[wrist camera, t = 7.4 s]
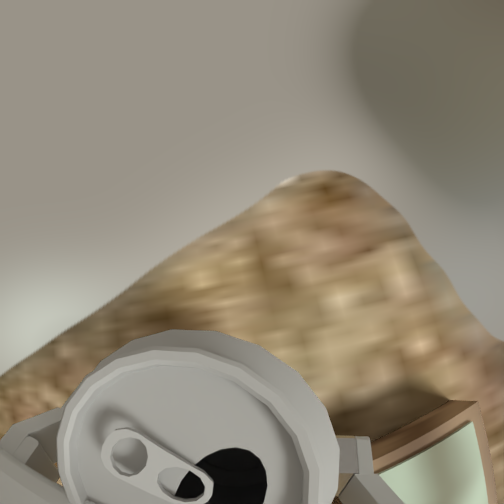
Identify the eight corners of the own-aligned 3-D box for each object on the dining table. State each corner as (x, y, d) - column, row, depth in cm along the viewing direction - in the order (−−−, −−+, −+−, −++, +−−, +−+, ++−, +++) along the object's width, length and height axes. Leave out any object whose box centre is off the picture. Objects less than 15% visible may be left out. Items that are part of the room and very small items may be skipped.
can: (263, 501, 14) (248, 636, 3) (149, 440, 16) (4, 484, 5) (326, 393, 16) (418, 406, 5) (208, 336, 18) (114, 257, 7)
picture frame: (368, 568, 14) (381, 593, 10) (330, 458, 18) (341, 475, 14) (475, 511, 14) (501, 525, 10) (450, 400, 19) (480, 401, 15)
